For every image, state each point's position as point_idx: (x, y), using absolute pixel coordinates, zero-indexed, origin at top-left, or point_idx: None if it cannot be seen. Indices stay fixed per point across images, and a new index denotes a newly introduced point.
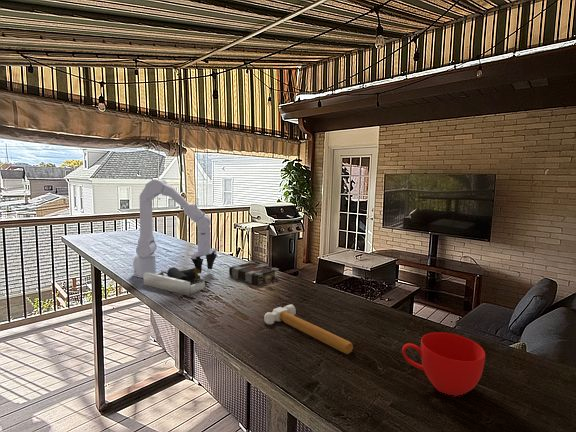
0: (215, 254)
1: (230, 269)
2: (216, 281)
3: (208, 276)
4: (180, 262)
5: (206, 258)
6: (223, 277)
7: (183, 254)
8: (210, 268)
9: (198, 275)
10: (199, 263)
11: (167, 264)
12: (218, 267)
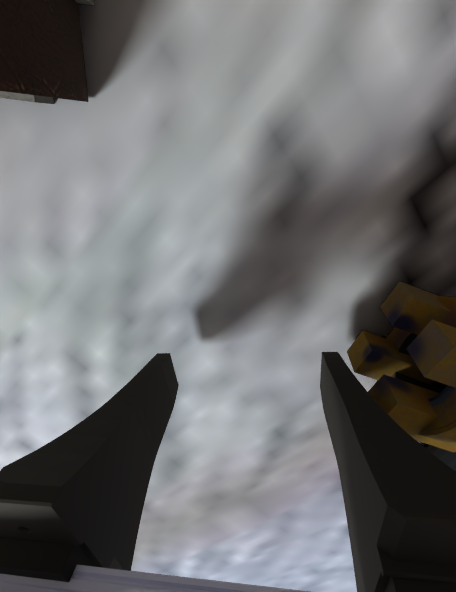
0: (7, 508)
1: (23, 53)
2: (355, 69)
3: (257, 290)
4: (169, 549)
5: (142, 504)
6: (177, 131)
7: None
8: (168, 366)
9: (403, 324)
10: (436, 457)
11: (235, 567)
12: (42, 379)
